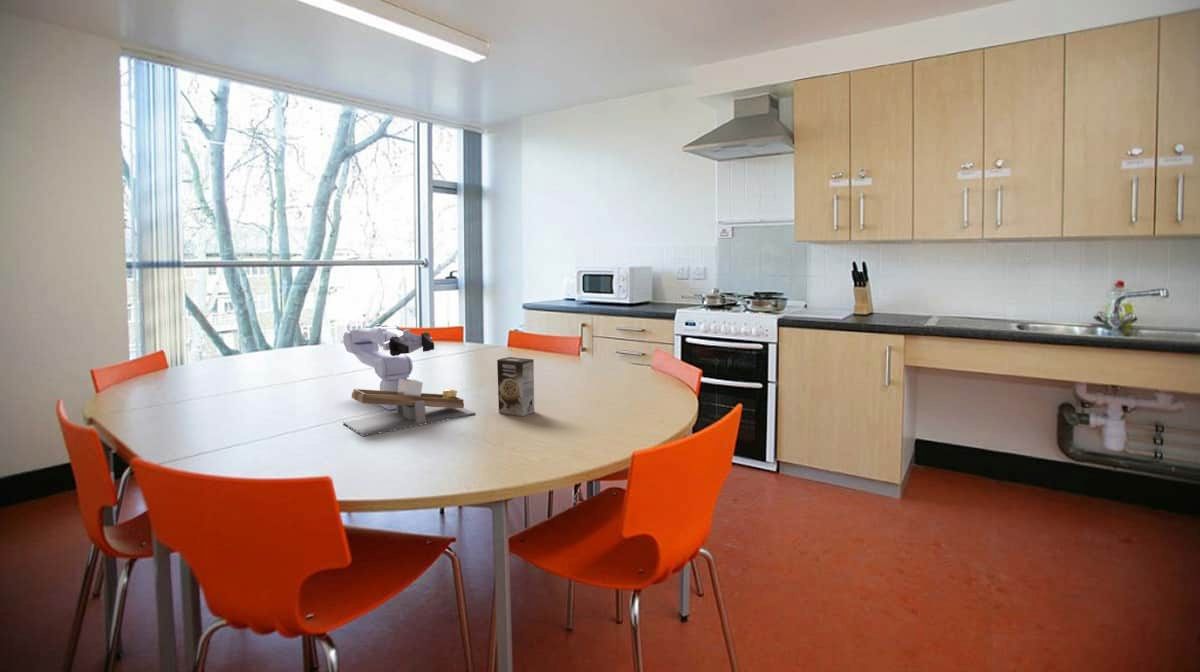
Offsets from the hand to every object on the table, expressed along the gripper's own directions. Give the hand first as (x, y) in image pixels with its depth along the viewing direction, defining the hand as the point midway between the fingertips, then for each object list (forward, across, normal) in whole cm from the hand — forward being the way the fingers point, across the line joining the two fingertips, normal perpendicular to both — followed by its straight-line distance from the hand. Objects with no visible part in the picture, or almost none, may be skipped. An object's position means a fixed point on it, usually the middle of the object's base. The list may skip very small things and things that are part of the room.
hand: (420, 348), depth 182 cm
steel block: (-1, -4, +14) cm, 15 cm away
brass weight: (-1, +8, +17) cm, 19 cm away
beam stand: (-1, -4, +21) cm, 21 cm away
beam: (-1, -4, +15) cm, 16 cm away
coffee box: (+14, +23, +21) cm, 34 cm away
